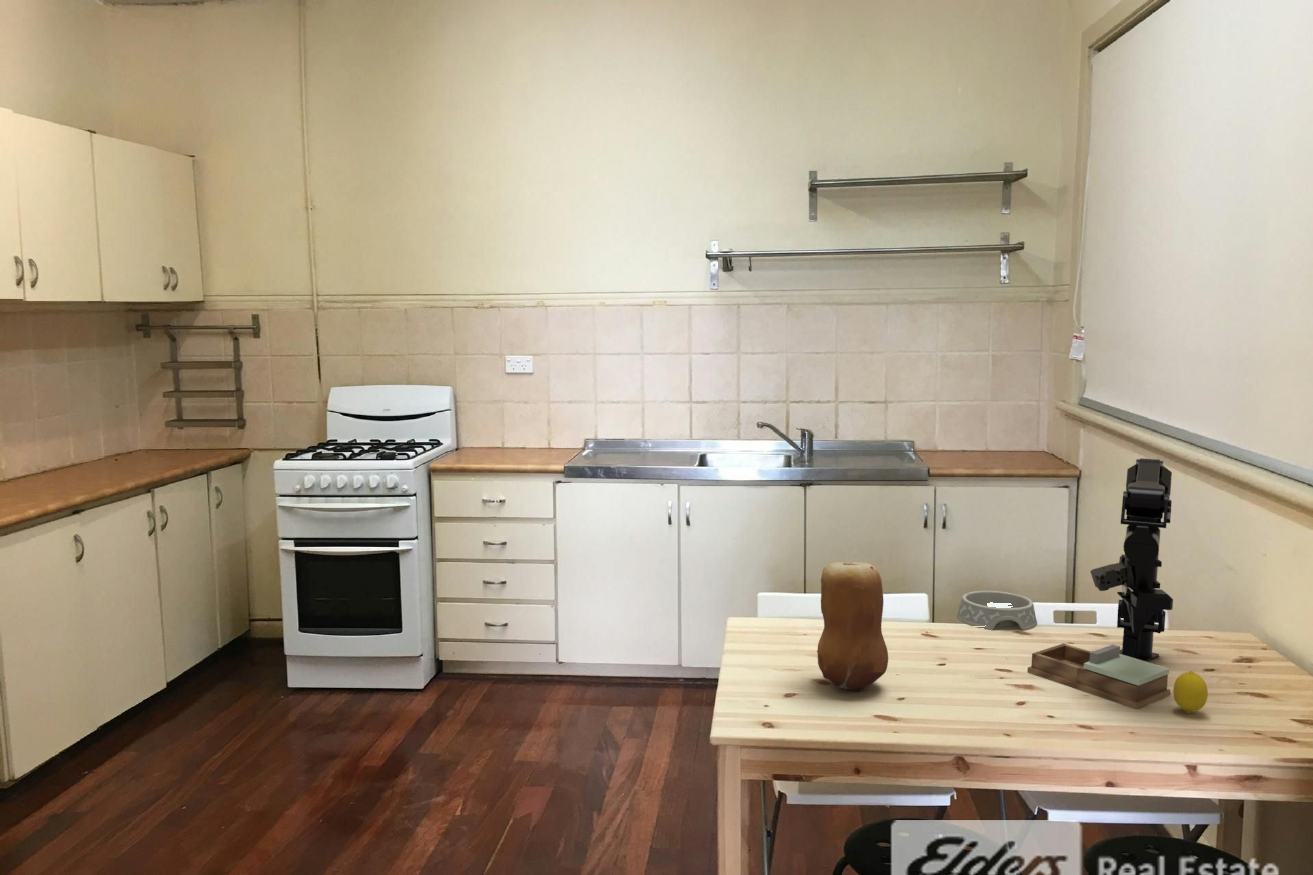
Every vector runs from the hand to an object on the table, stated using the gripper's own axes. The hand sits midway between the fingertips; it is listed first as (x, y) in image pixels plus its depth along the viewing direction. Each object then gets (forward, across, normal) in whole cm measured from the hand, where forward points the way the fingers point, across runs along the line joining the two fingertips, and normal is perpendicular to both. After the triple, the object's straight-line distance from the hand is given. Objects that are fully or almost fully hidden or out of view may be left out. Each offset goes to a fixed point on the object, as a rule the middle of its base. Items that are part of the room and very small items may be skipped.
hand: (1136, 633), depth 189 cm
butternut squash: (+13, +5, -53) cm, 55 cm away
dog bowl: (+12, -46, -17) cm, 50 cm away
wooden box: (+12, -6, -5) cm, 14 cm away
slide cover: (+8, -2, -1) cm, 8 cm away
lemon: (+13, +7, +8) cm, 16 cm away
